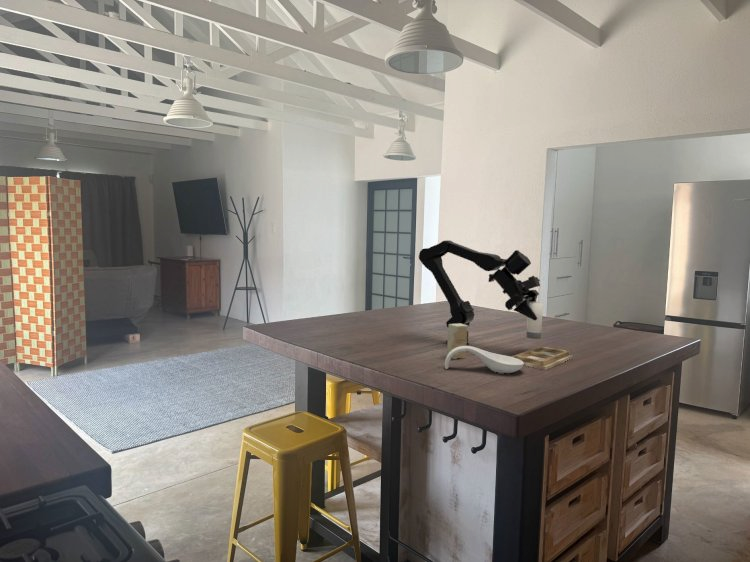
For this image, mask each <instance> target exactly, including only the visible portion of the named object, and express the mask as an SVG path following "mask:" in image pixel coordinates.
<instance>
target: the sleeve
mask: <svg viewBox="0 0 750 562" xmlns="http://www.w3.org/2000/svg"><path fill="white" fill-rule="evenodd" d="M529 306H530V307H531V309H532V310H533V312H534V313H535V315H536V317H537V320H533V319H531V318H529V317H527V316H526V317H527V318H526V319H527V320H526V321H527V322H526V335H525V336H526V338H527V339H532V340H533V339H534V340H535V339H536V340H537V339H538V340H539V339H541V338H542V330H543V329H542V327H543V309H544V302H542V301H536V302H535V301H530V302H529Z"/></svg>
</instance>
